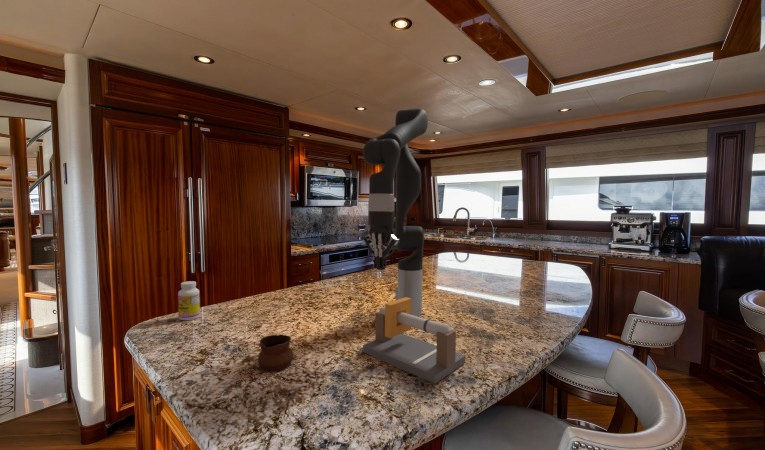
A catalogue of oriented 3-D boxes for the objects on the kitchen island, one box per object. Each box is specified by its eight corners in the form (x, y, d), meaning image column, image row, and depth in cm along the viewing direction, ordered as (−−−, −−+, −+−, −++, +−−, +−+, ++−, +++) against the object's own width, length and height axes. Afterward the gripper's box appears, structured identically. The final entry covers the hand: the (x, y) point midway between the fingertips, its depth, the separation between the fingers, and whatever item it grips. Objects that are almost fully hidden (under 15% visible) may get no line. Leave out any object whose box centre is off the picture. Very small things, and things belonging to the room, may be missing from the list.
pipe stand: (362, 352, 93) (363, 311, 92) (395, 337, 103) (395, 300, 103) (434, 384, 77) (435, 335, 76) (465, 363, 87) (466, 319, 86)
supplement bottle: (174, 319, 118) (173, 283, 117) (191, 313, 124) (190, 279, 123) (187, 322, 115) (186, 285, 115) (204, 316, 122) (203, 281, 121)
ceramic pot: (237, 389, 74) (237, 358, 74) (238, 356, 91) (238, 331, 90) (317, 376, 81) (318, 347, 81) (305, 347, 97) (305, 324, 97)
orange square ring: (384, 336, 91) (385, 303, 90) (405, 327, 97) (406, 297, 97) (390, 338, 89) (390, 305, 89) (411, 329, 96) (411, 298, 95)
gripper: (356, 209, 98) (355, 268, 99) (389, 210, 89) (389, 274, 90) (373, 209, 103) (373, 265, 104) (407, 210, 94) (406, 270, 95)
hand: (380, 269), depth 97 cm, fingers closed
